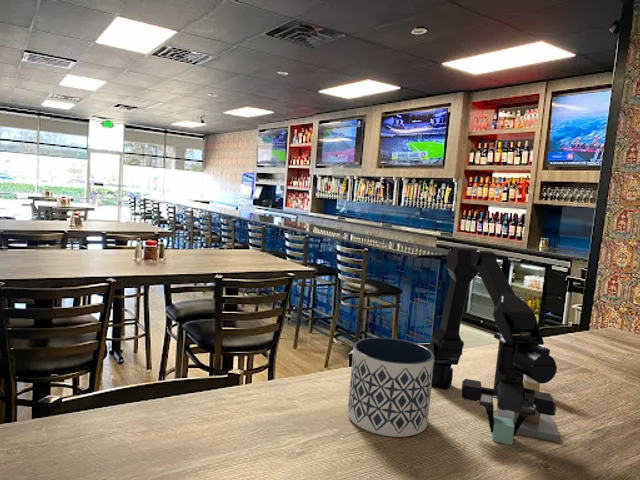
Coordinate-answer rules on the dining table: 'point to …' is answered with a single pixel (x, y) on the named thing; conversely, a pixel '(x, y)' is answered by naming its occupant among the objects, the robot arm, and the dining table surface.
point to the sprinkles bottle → (531, 382)
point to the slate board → (534, 426)
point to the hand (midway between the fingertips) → (502, 433)
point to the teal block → (503, 430)
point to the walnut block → (532, 418)
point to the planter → (390, 386)
